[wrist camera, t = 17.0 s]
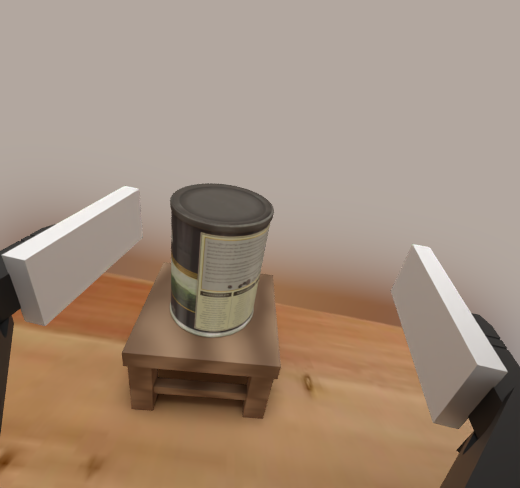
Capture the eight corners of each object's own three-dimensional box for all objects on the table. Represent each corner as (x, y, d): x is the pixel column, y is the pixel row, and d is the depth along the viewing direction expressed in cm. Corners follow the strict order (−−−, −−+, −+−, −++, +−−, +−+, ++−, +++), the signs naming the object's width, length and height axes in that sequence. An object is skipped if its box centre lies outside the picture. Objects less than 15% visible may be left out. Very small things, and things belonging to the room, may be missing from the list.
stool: (262, 323, 50) (272, 275, 45) (265, 421, 36) (280, 366, 31) (164, 313, 49) (163, 262, 44) (128, 411, 35) (121, 352, 30)
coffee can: (151, 321, 34) (148, 205, 27) (194, 272, 43) (199, 176, 36) (237, 351, 32) (257, 236, 25) (263, 294, 41) (283, 197, 34)
